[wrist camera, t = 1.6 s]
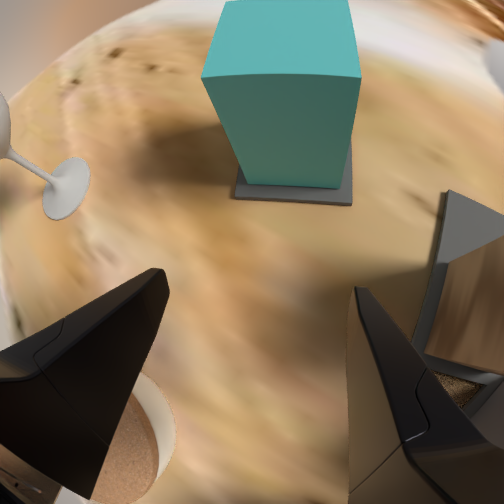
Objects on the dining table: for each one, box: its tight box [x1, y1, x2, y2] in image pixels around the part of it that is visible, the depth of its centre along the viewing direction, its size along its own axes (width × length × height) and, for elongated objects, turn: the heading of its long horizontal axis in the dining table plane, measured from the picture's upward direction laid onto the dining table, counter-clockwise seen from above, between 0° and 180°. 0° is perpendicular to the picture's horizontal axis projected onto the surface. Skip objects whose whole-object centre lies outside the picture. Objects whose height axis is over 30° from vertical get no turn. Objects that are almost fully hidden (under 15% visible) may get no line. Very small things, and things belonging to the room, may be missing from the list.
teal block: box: [201, 0, 362, 189], centre depth 18 cm, size 7×7×12 cm
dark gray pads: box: [235, 139, 504, 419], centre depth 21 cm, size 18×44×1 cm, turn 39°
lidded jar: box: [90, 372, 176, 504], centre depth 18 cm, size 11×11×9 cm
